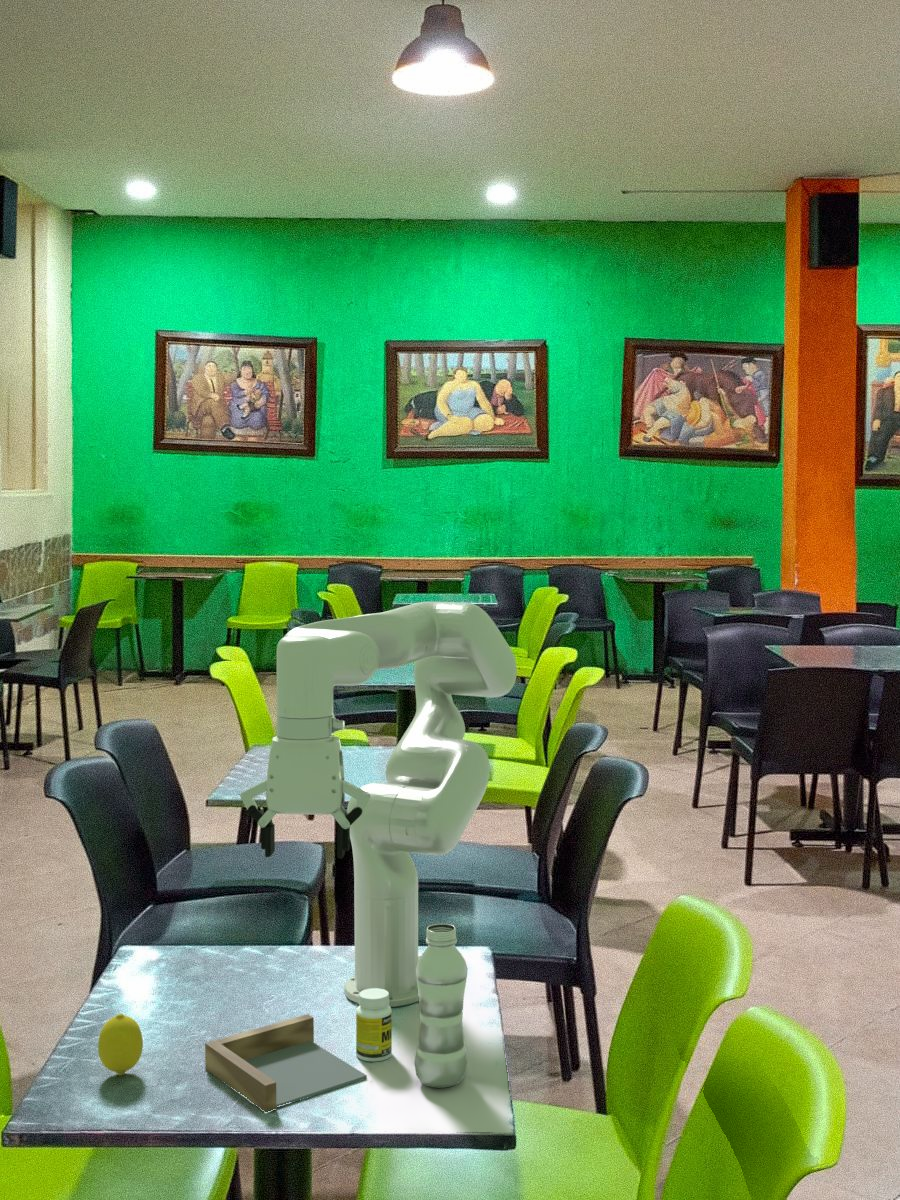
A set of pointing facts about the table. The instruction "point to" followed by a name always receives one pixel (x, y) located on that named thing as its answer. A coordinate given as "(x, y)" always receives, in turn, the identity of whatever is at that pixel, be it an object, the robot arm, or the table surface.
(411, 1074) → the table surface
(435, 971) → the plastic bottle
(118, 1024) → the lemon
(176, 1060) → the table surface
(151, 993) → the table surface
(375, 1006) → the supplement bottle
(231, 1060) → the corner walls
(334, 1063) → the mat
